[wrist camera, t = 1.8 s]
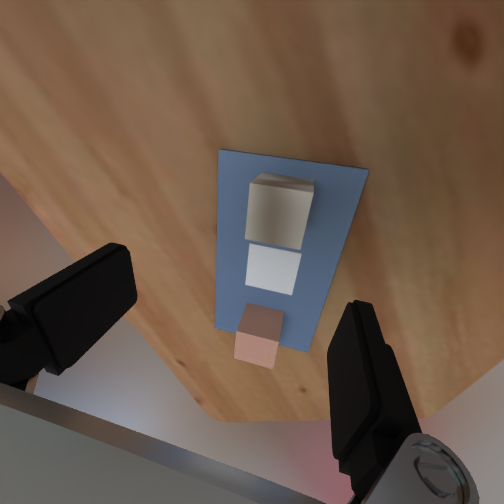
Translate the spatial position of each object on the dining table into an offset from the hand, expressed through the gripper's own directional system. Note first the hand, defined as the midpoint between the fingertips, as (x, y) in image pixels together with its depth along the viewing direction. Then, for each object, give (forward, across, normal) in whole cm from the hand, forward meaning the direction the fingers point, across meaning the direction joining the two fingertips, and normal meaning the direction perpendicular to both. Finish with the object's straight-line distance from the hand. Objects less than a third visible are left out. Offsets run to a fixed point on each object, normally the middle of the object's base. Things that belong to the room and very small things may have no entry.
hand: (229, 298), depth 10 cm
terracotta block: (+16, -1, +17) cm, 23 cm away
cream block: (+16, 0, 0) cm, 16 cm away
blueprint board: (+16, -1, +9) cm, 19 cm away
